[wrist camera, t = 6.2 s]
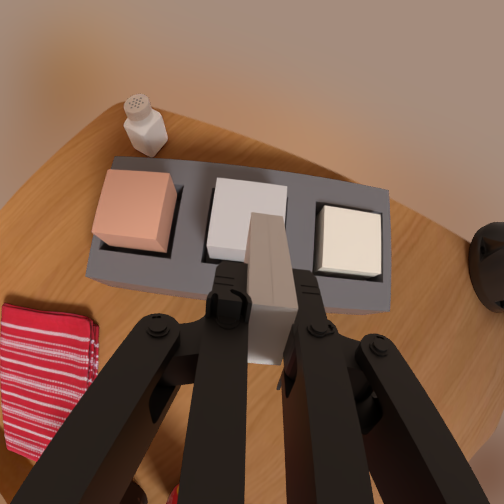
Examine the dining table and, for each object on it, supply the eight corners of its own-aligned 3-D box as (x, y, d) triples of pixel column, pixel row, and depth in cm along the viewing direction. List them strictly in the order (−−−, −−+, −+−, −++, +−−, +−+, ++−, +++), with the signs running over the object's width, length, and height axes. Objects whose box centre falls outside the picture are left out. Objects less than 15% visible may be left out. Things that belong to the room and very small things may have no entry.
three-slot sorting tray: (364, 211, 41) (388, 190, 34) (362, 315, 38) (390, 311, 31) (131, 183, 40) (114, 156, 33) (110, 286, 36) (85, 276, 29)
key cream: (362, 228, 37) (380, 214, 32) (362, 280, 35) (380, 273, 31) (312, 221, 37) (324, 205, 32) (309, 275, 35) (322, 267, 30)
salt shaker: (149, 129, 42) (135, 87, 33) (170, 139, 42) (159, 97, 33) (132, 148, 41) (113, 109, 32) (152, 160, 41) (137, 120, 32)
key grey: (279, 206, 34) (287, 186, 29) (274, 265, 32) (282, 254, 27) (218, 198, 33) (217, 177, 28) (209, 258, 32) (206, 245, 27)
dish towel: (103, 318, 36) (95, 317, 33) (103, 480, 30) (97, 488, 28) (7, 299, 35) (-3, 297, 32) (10, 446, 29) (1, 450, 27)
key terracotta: (177, 194, 33) (169, 173, 28) (166, 252, 31) (156, 239, 27) (122, 189, 33) (108, 169, 28) (109, 245, 31) (91, 232, 26)
